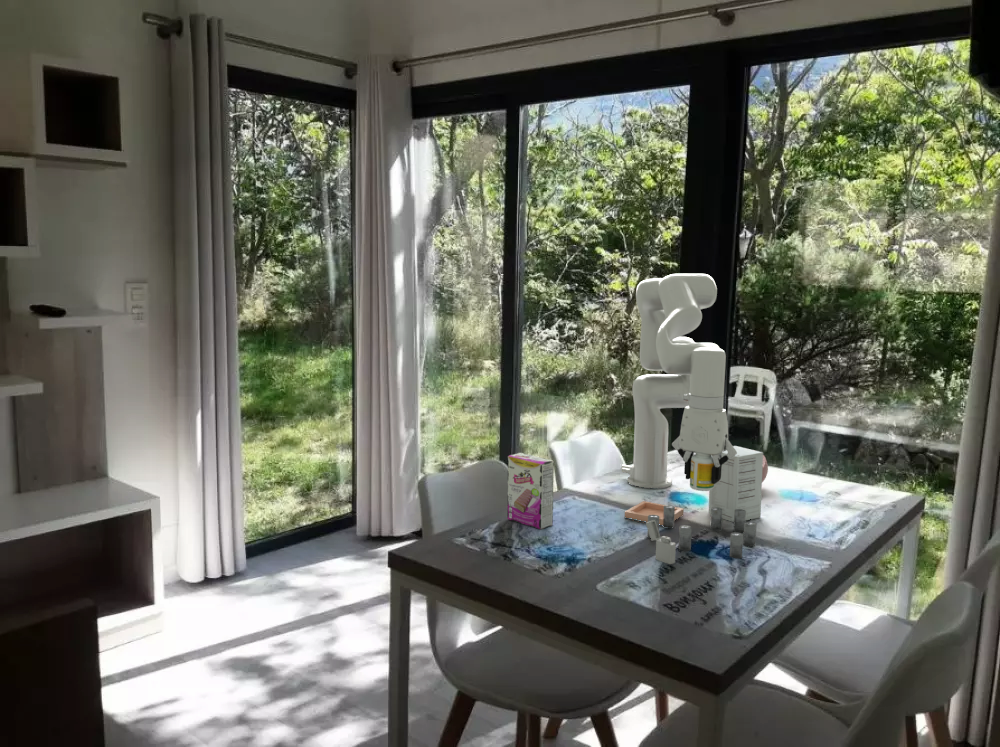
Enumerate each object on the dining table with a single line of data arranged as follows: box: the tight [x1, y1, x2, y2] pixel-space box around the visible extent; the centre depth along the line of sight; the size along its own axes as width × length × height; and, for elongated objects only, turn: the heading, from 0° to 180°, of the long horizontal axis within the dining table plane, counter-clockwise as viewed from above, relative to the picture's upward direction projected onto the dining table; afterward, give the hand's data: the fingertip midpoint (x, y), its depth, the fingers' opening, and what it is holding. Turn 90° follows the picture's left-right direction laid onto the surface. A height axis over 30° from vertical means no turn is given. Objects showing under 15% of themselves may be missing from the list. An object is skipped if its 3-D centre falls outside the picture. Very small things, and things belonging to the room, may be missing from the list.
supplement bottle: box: [689, 452, 714, 492], centre depth 188 cm, size 5×5×10 cm
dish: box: [624, 500, 685, 525], centre depth 207 cm, size 11×11×2 cm
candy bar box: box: [506, 452, 555, 530], centre depth 201 cm, size 11×5×16 cm, turn 47°
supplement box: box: [708, 445, 764, 523], centre depth 207 cm, size 10×9×17 cm
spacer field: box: [646, 504, 757, 560], centre depth 191 cm, size 23×22×5 cm
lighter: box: [645, 520, 677, 565], centre depth 178 cm, size 7×2×8 cm, turn 40°
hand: (702, 479), depth 188 cm, fingers closed on supplement bottle, 5 cm apart
